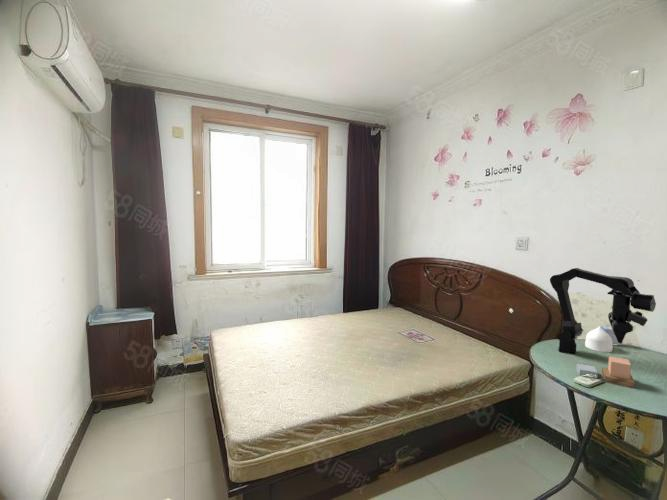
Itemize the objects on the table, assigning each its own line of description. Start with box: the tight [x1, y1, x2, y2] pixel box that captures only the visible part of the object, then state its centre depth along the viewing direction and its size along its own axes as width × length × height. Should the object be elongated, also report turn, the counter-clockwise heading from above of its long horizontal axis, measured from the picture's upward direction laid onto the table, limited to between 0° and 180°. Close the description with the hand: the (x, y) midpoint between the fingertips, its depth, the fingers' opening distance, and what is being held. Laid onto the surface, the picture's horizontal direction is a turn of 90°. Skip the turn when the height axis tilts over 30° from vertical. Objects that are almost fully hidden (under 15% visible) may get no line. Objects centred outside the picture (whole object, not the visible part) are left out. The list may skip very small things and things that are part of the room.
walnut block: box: [601, 367, 636, 389], centre depth 130 cm, size 9×9×3 cm
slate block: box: [576, 363, 599, 377], centre depth 135 cm, size 6×6×3 cm
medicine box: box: [601, 326, 623, 346], centre depth 166 cm, size 8×4×9 cm, turn 71°
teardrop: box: [584, 325, 614, 353], centre depth 161 cm, size 11×11×12 cm
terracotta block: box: [607, 356, 632, 379], centre depth 129 cm, size 6×6×6 cm
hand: (618, 339), depth 140 cm, fingers open, 9 cm apart
